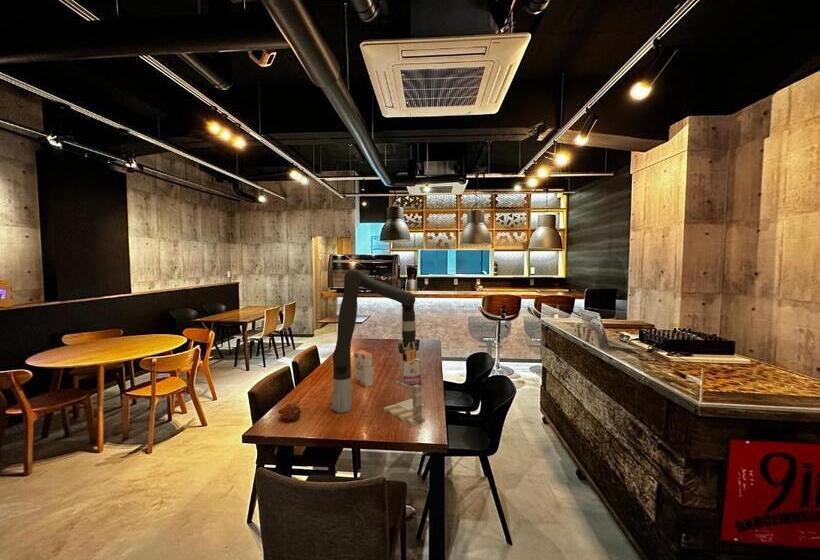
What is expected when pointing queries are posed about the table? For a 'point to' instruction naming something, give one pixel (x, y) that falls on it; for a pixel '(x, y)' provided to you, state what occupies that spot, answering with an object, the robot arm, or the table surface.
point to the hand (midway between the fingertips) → (409, 359)
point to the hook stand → (404, 414)
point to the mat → (407, 404)
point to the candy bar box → (411, 372)
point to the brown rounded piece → (290, 412)
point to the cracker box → (363, 368)
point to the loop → (412, 355)
